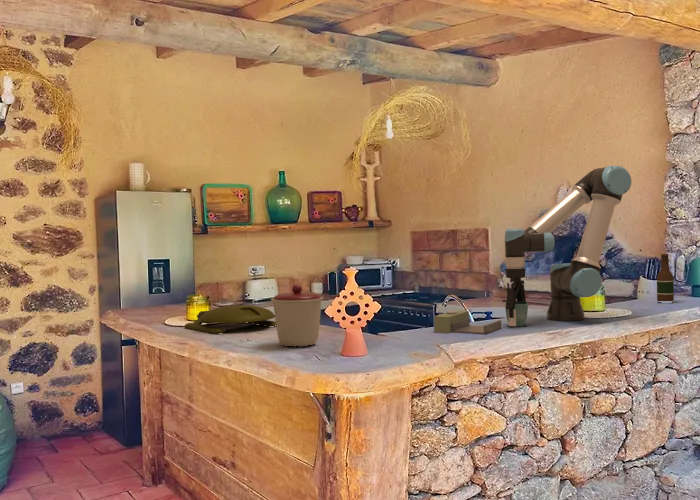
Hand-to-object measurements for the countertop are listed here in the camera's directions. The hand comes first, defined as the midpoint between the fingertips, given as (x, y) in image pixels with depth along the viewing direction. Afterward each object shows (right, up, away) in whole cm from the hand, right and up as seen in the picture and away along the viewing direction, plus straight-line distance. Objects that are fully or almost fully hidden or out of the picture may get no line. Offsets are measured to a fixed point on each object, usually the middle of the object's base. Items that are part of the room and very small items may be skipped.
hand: (516, 324), depth 277 cm
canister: (-84, -4, -33) cm, 90 cm away
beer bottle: (+89, +3, +66) cm, 111 cm away
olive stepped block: (-26, -1, -4) cm, 26 cm away
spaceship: (-114, -4, +15) cm, 115 cm away
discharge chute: (-18, -1, -9) cm, 20 cm away
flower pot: (0, -1, 0) cm, 1 cm away
